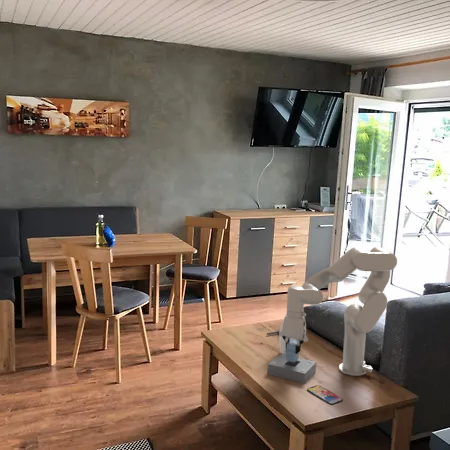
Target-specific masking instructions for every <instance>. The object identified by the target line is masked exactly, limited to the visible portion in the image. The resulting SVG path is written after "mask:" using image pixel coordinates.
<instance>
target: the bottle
mask: <svg viewBox="0 0 450 450" xmlns="http://www.w3.org/2000/svg"><path fill="white" fill-rule="evenodd" d="M283 322H284V319H282V322H281V324H280V328H279V330H280V332H281V331H282V329H283ZM280 332H279V333H280ZM279 333H278V335H279ZM278 340H279V341H278V342H279V343H278V344H279V352H280V353H282V354H286V353H285V351H286V343H285V340H284V339H283V338H282V337H281V336H280V335H279V336H278ZM291 340H294V341H297V340H296V339H294V338H290V341H291ZM280 353H279V354H280Z"/></svg>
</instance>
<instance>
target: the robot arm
mask: <svg viewBox="0 0 450 450" xmlns="http://www.w3.org/2000/svg"><path fill="white" fill-rule="evenodd" d="M397 264H398V258H397V257H396V255H395V254H394V253H392V252H391V251H389V250H388V249H385V248H384V247H379V246H375V247H373V248H371V250H370V251H365V250H363V249H362V248H359V247H351V248H350V249H349V250H348V251H346V252H345V253H344V254H343V255H341V256H340V257H339V258H338V259H337V260H336V261H335V262H334V263H332V264H331V265H329V267H326V268H324V269H322V270H320V271H318V272H316V273H314V274H313V275H312V276H310V277H309V278H308V279H307V280H306V281H305V282H304V283H303V284H302V285H301V286H299V285H291V286H289V287H288V289H287V296H286V297H287V298H286V299H287V300H286V313H285V315H284V319H283V320H284V322H283V329H282V331H281V332H280V333H278V335H280V336H281V337H282V338H283V339H284V340H285V343H286V349H287V343H288V342H290V338H294V339H296V340H297V345H296V354H298V353H299V354H300V352H301V348H302V346H301V345H302V344H304V343H306V342H309V338H308V336H307V327H306V326H307V323H306V321H307V320H306V316H307V313H306V312H305V311H304V310H305V309H304V306H305V304H306V305H312V306H316V305H319V304H321V303H322V301H323V300H324V299H323V298H324V294H323V293H322V291H321V289H322V288H324V287H325V286H326V285H329V284H332V283H341V282H343V281H344V280H346V279H347V278H348V277H349V276H350V275H351V274H352V273H354V272H355V271H356V270H358V271H362V272H370V274H369V277H368V278H367V279H366V281H365V282H364V284H363V286H362V287H361V289H360V291H359V293H358V300H359V302H360V303H361V304H362V305H363V306H361V305H360V304H356V303H351V304H349V305H348V306H347V307H346V308H345V311H344V314H343V315H344V316H343V319H344V337H343V351H342V363H340V364H339V365H338V370H339V371H340V372H341V373H342V374H345V375H348V376H351V377H359V376H364V375H365V374H367V372H369V373H373V370H374V369H373V367H372V365H367V364H366V361H365V351H366V337H367V336H366V334H367V333H369V332H371V331H372V330H373V329H374V328H375V326H376V325H377V323H378V322H379V320H380V318H381V317H382V315H383V314H384V312H385V311H386V309H387V306H388V297H387V295H386V294H385V293H384V290H385V288H386V287H387V285H388V283H389V280H390V278H391V271H392V270H394V269H395V268H396V267H397Z"/></svg>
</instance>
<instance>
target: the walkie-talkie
mask: <svg viewBox="0 0 450 450" xmlns="http://www.w3.org/2000/svg"><path fill="white" fill-rule="evenodd" d="M279 332H280V329H278V330H277V331H271V332H267V333H266V335H267V336H271V335H275V334H278V335H279Z"/></svg>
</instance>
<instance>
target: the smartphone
mask: <svg viewBox="0 0 450 450" xmlns="http://www.w3.org/2000/svg"><path fill="white" fill-rule="evenodd" d="M306 391H307V392H309V393H310V394H312V395H313V396H315V397H316V398H318V399H320V400H321V401H323V402H325V403H326V404H328V405H331V406H333V405H337V404H339V403H342V402H343V398H341V397H340V396H338V395H337V394H335V393H333V392H331V391H330V390H328V389H326V388H325V387H323V386H322V385H320V384H317V385H314V386H310V387H307V389H306Z"/></svg>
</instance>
